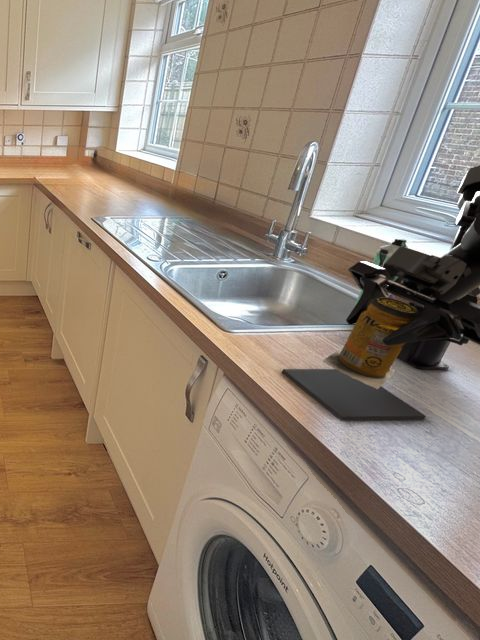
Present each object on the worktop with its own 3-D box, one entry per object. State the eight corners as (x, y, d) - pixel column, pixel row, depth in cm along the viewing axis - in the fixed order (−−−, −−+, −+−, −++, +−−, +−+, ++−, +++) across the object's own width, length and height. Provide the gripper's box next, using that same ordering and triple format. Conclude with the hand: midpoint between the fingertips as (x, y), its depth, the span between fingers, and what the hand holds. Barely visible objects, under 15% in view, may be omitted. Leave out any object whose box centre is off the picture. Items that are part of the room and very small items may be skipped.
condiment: (395, 372, 66) (433, 309, 61) (376, 390, 62) (416, 323, 57) (341, 348, 72) (371, 288, 67) (320, 362, 68) (351, 300, 63)
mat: (353, 372, 76) (354, 368, 75) (424, 419, 64) (426, 415, 64) (281, 372, 75) (282, 369, 74) (340, 420, 63) (342, 416, 63)
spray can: (373, 328, 91) (411, 244, 84) (344, 317, 96) (378, 236, 89) (386, 324, 93) (424, 242, 86) (357, 313, 98) (391, 234, 91)
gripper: (380, 215, 67) (295, 275, 71) (530, 255, 50) (409, 332, 53) (405, 259, 71) (322, 315, 74) (554, 312, 53) (438, 382, 57)
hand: (365, 332), depth 64 cm, fingers closed on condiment, 6 cm apart
